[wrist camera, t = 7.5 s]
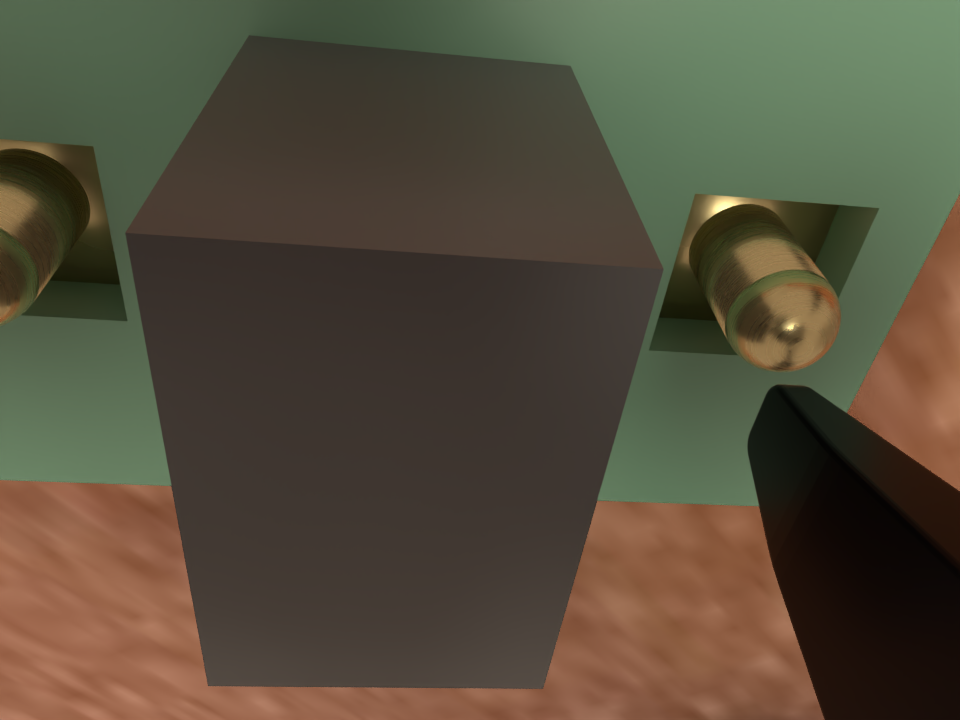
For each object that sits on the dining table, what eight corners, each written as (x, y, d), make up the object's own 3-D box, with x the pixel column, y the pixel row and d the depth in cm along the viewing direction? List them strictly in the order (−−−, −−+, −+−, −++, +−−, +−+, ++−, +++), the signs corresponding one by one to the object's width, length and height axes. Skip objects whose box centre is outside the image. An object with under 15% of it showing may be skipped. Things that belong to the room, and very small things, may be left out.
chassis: (1047, -258, 12) (1457, -264, 7) (749, 441, 20) (845, 646, 15) (-308, -458, 10) (-981, -651, 5) (-5, 409, 18) (-151, 633, 13)
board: (1037, -72, 10) (1560, 79, 6) (780, 470, 16) (925, 766, 12) (-314, -237, 9) (-1235, -224, 4) (-45, 437, 15) (-272, 768, 10)
